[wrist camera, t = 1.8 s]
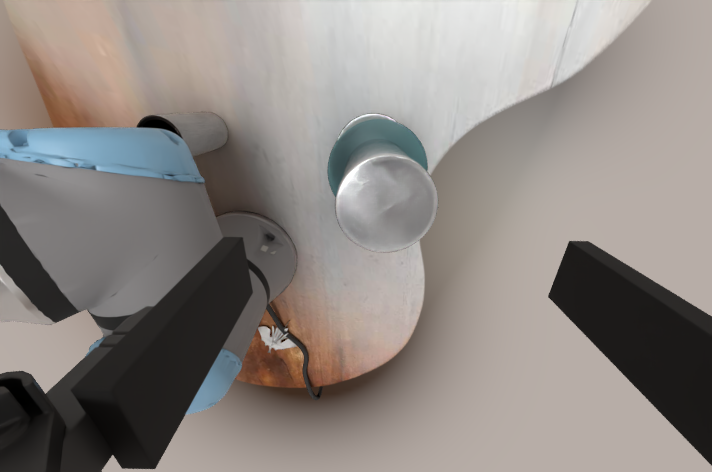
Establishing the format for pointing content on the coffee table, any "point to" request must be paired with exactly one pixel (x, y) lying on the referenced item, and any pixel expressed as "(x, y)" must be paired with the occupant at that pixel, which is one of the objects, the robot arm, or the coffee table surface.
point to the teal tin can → (367, 130)
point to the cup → (385, 198)
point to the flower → (275, 338)
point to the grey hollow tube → (191, 129)
